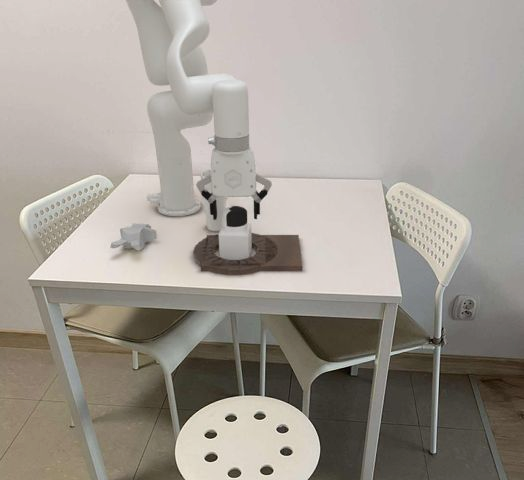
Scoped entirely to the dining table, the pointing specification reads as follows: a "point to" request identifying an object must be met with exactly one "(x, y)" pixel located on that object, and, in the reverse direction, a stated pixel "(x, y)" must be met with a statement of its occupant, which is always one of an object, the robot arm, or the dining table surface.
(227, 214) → the medicine bottle
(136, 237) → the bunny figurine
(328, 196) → the dining table surface
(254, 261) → the holder board
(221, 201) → the drinking glass
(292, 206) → the dining table surface
